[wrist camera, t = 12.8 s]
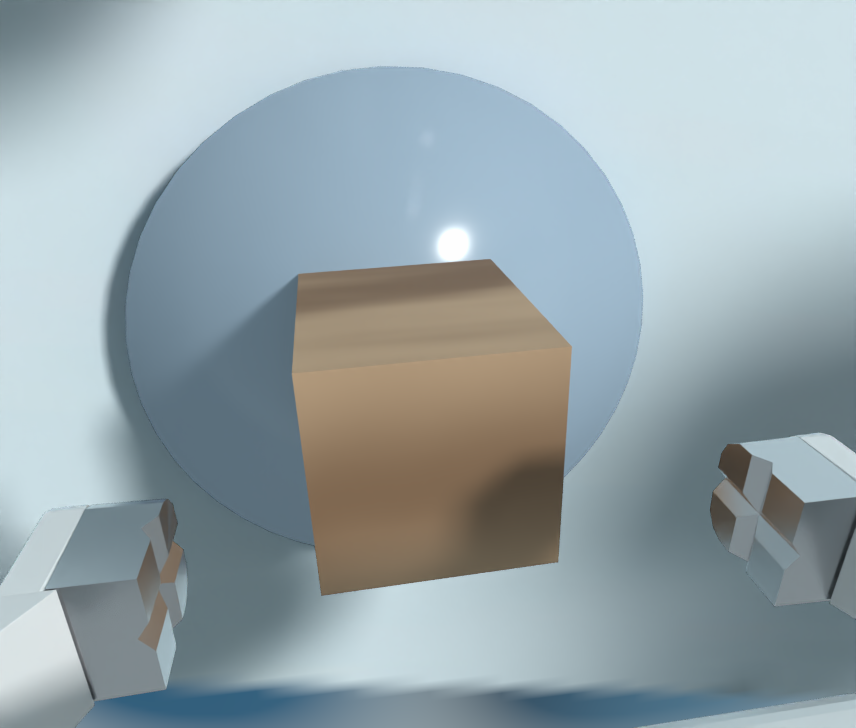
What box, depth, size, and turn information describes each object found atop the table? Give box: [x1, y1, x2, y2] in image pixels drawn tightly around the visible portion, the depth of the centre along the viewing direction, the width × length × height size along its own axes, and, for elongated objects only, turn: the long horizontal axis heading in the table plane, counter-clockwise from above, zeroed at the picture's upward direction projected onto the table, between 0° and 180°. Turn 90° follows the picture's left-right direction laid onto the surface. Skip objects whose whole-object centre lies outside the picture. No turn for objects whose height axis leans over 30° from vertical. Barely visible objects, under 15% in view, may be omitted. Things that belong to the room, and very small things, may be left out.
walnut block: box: [292, 259, 572, 596], centre depth 15 cm, size 5×5×6 cm
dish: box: [125, 66, 643, 546], centre depth 18 cm, size 14×14×1 cm
